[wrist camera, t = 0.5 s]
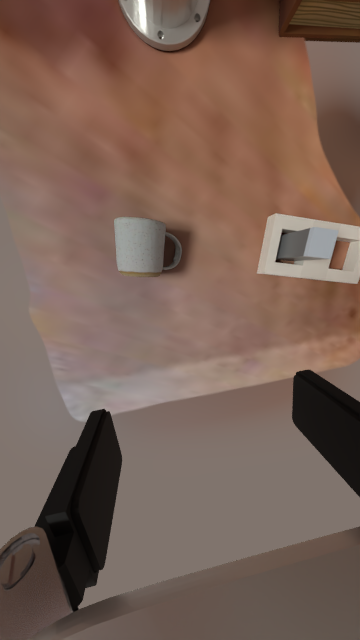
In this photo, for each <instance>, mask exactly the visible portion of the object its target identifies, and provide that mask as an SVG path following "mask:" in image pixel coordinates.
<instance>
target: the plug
mask: <svg viewBox="0 0 360 640" xmlns="http://www.w3.org/2000/svg"><path fill="white" fill-rule="evenodd" d="M338 231H339V230H332V229H326V228H319V227H312V228H308V229H304V230H300V231H296V232H292V233H289V234H285V235H281V237H280V242H279V247H278V251H277V256H276V259H278V260H286V261H301V260H321V259H331V256H332V253H333V249H334V246H335V242H336V239H337V235H338Z"/></svg>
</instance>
